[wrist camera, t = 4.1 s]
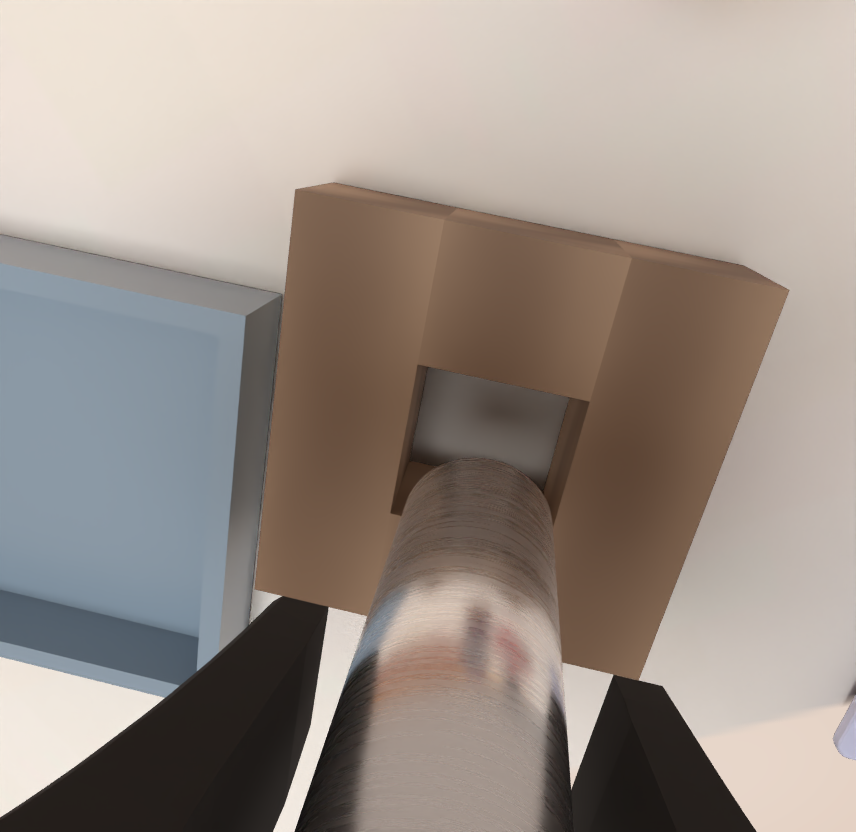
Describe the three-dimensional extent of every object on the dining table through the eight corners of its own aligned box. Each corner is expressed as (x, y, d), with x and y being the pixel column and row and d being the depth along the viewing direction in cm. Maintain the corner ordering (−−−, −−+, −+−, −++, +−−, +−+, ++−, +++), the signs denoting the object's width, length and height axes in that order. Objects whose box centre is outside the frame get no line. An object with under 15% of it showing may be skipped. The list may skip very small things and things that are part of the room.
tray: (281, 294, 18) (245, 315, 16) (245, 652, 22) (213, 709, 20) (-147, 203, 19) (-242, 211, 16) (-97, 568, 23) (-166, 615, 21)
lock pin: (604, 458, 12) (765, 1093, 4) (551, 628, 14) (590, 1351, 5) (395, 411, 12) (140, 924, 4) (364, 585, 14) (129, 1216, 6)
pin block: (744, 265, 16) (789, 290, 13) (622, 606, 20) (638, 680, 17) (333, 182, 17) (295, 189, 14) (291, 529, 21) (254, 589, 18)
